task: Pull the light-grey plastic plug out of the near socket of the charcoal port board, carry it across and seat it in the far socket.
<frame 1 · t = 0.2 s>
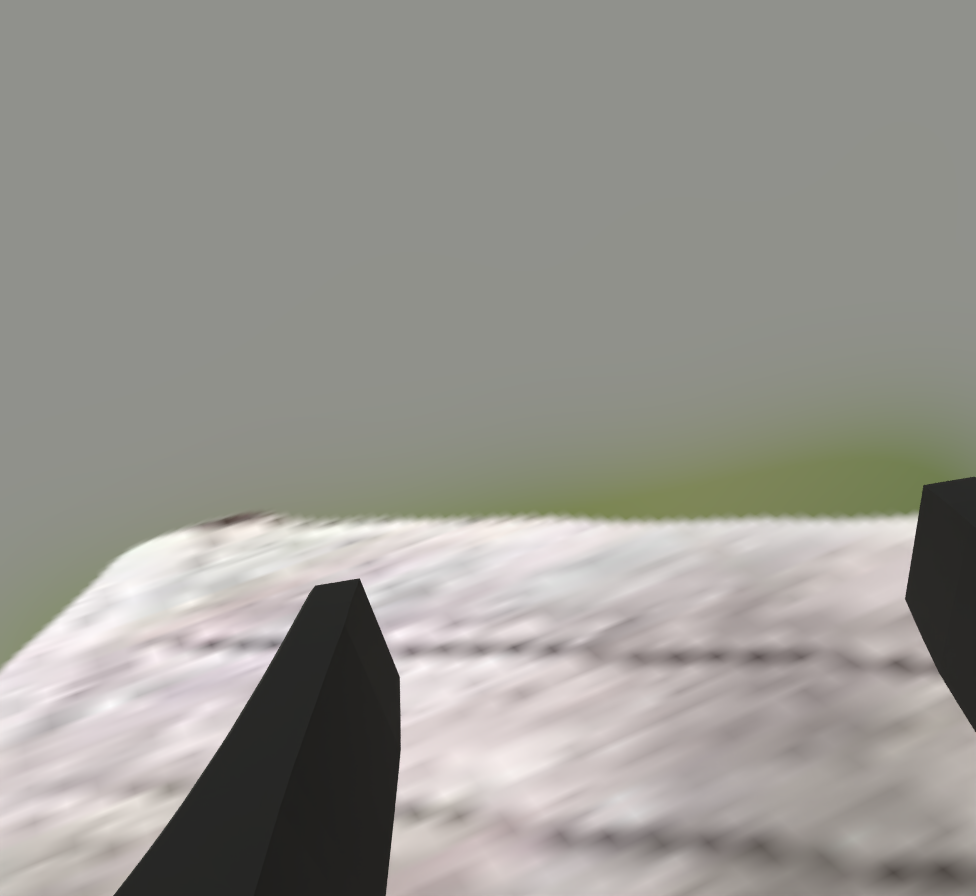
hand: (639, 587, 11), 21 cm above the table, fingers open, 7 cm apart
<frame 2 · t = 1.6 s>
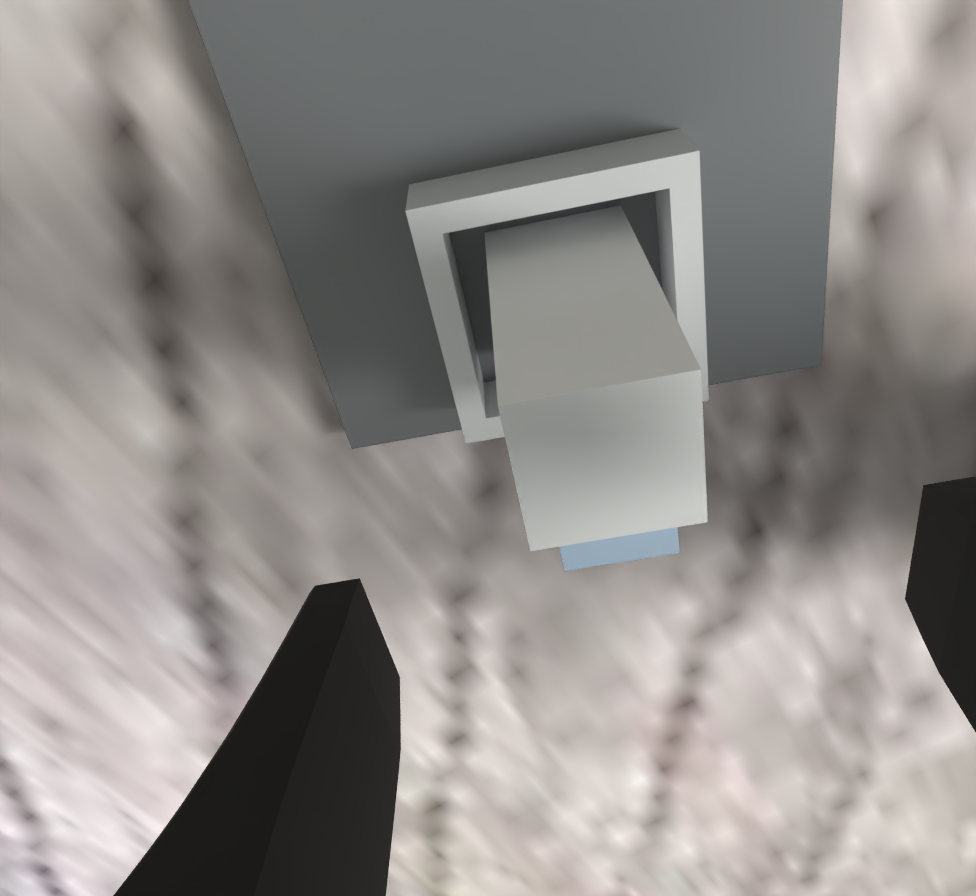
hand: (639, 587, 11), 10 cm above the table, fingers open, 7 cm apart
port board: (518, 9, 16), on the table
plug: (561, 282, 18), point 1 cm above the table, touching port board
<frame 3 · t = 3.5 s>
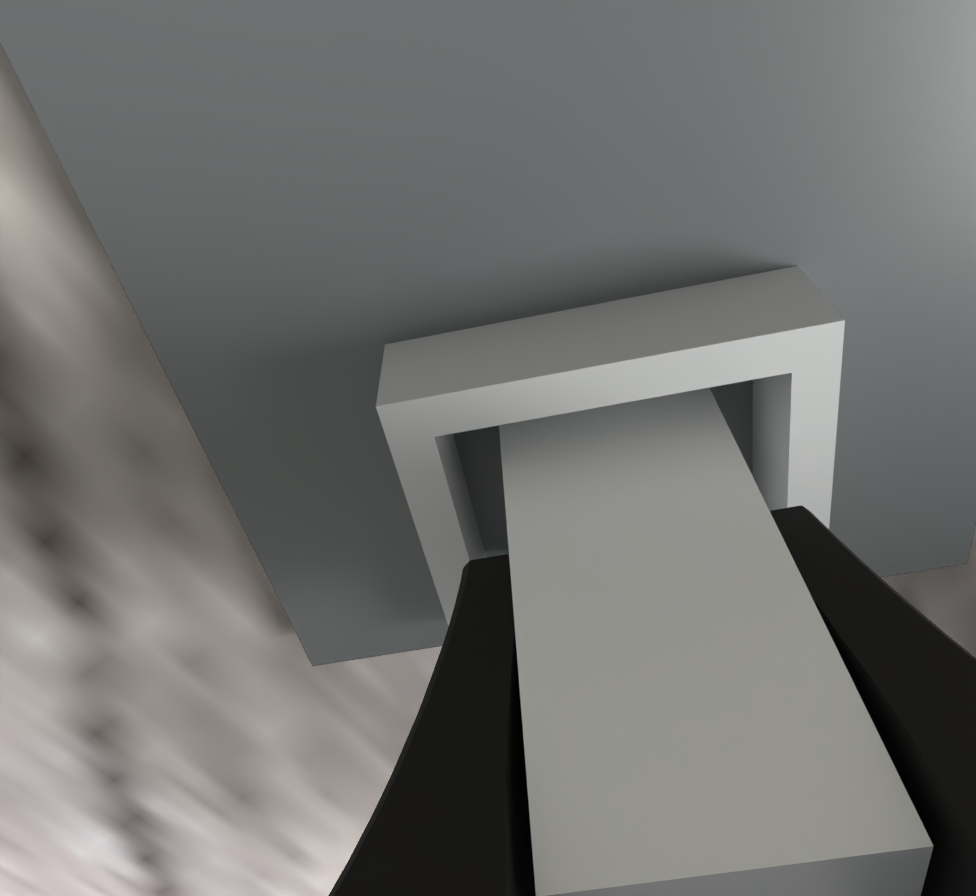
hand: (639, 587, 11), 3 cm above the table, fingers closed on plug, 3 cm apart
port board: (553, 89, 10), on the table
plug: (608, 467, 13), point 1 cm above the table, touching gripper, port board
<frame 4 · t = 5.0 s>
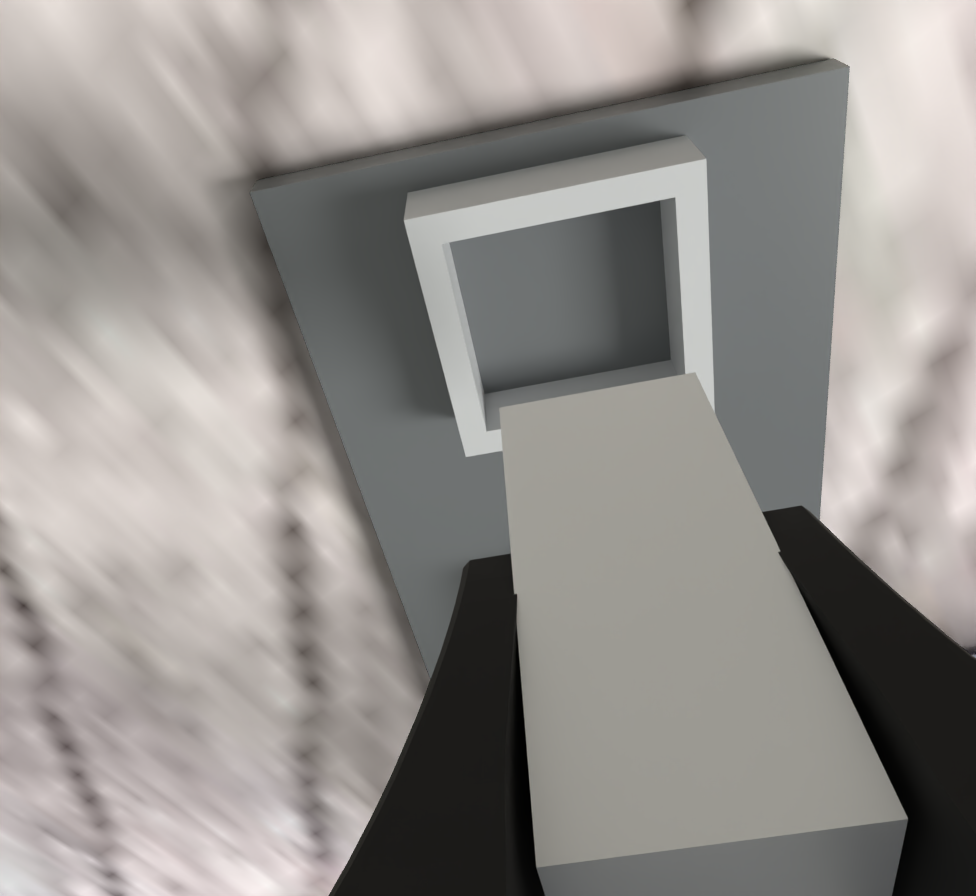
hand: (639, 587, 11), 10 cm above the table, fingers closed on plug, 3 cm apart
port board: (588, 463, 22), on the table
plug: (606, 467, 13), point 7 cm above the table, touching gripper
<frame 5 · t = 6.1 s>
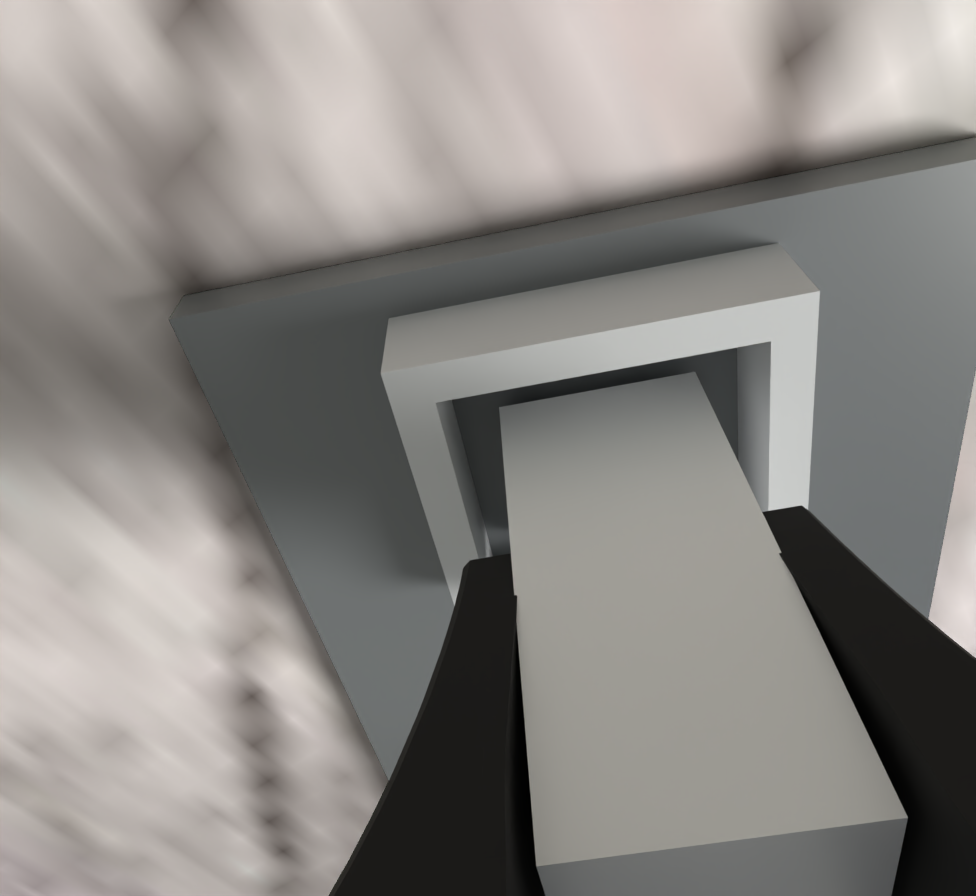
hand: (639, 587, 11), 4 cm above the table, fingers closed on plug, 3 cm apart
port board: (623, 622, 17), on the table
plug: (606, 466, 13), point 1 cm above the table, touching gripper
when the fingers open (4 cm above the table, at t = 6.7 s): plug stays where it is, resting on port board.
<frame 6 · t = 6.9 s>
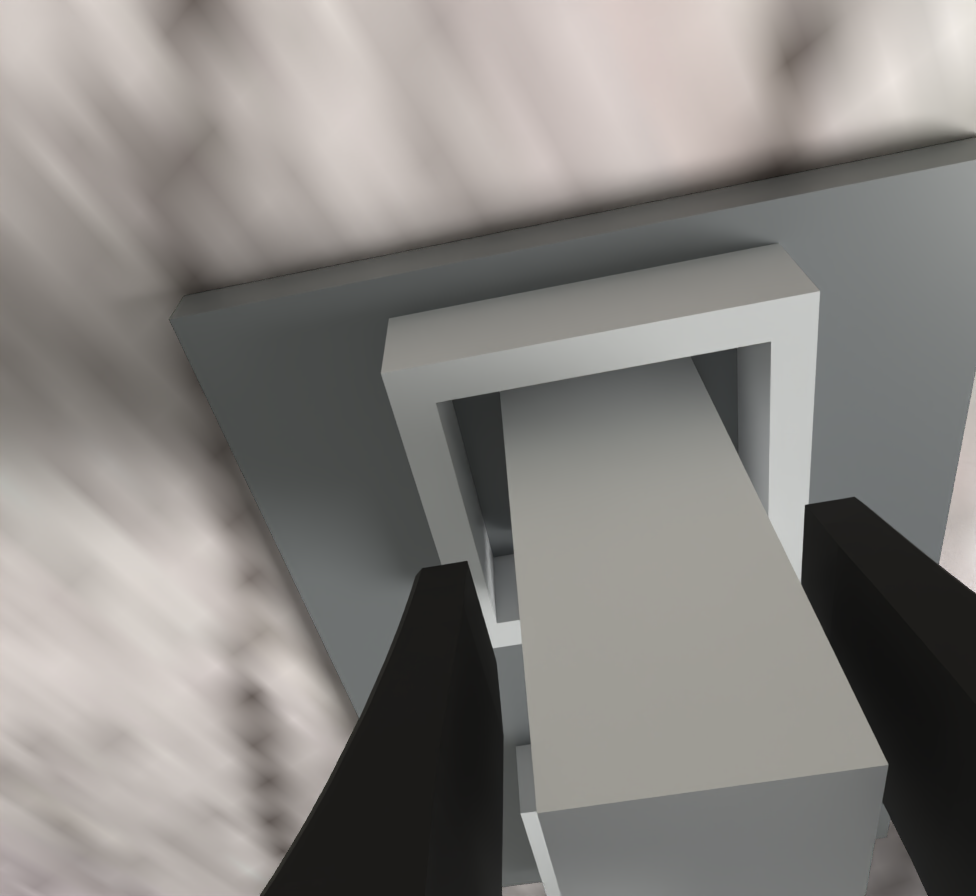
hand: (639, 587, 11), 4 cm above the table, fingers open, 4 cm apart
port board: (623, 622, 17), on the table
plug: (604, 449, 13), point 1 cm above the table, touching port board
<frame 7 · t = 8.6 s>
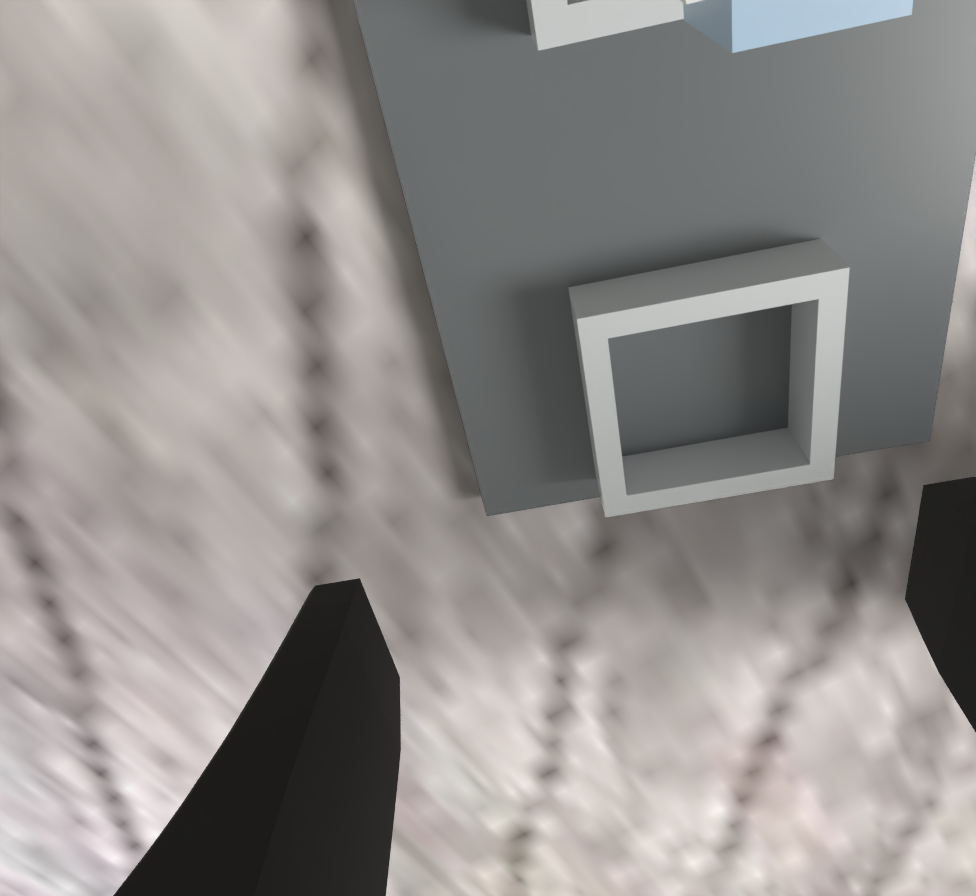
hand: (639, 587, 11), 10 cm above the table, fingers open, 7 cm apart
port board: (678, 134, 17), on the table
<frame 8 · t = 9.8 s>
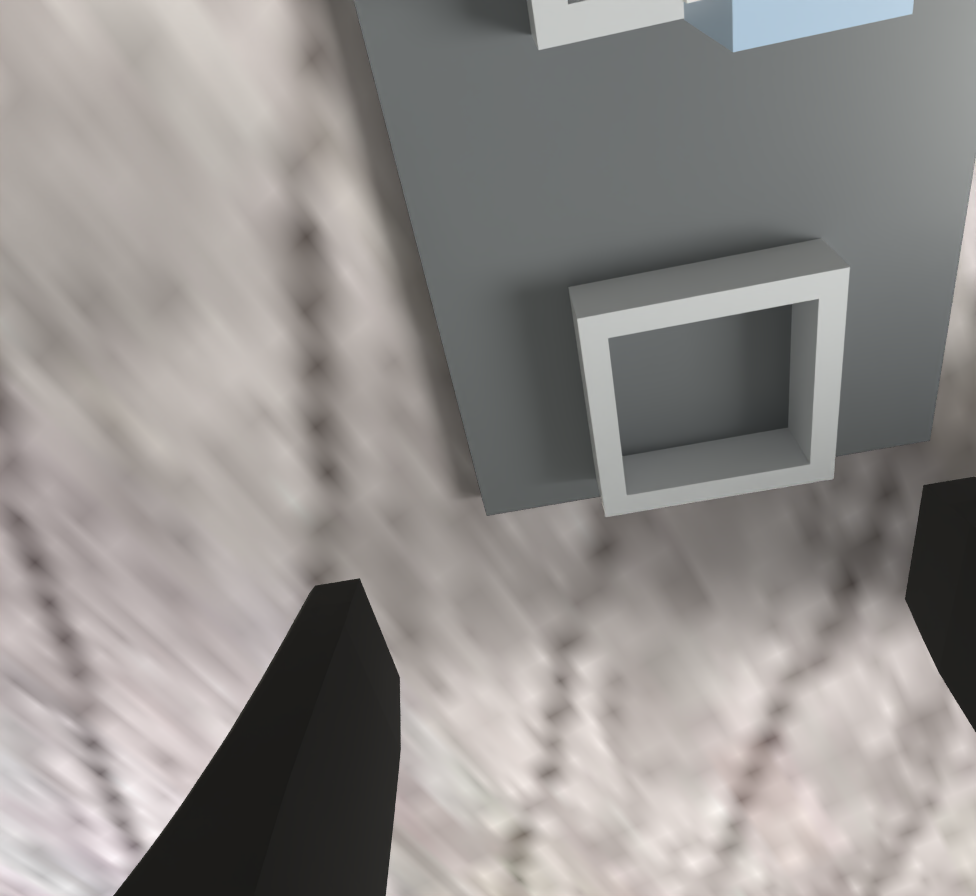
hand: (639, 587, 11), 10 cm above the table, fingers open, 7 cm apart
port board: (678, 134, 17), on the table
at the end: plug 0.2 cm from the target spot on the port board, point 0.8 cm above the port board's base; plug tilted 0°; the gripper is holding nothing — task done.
